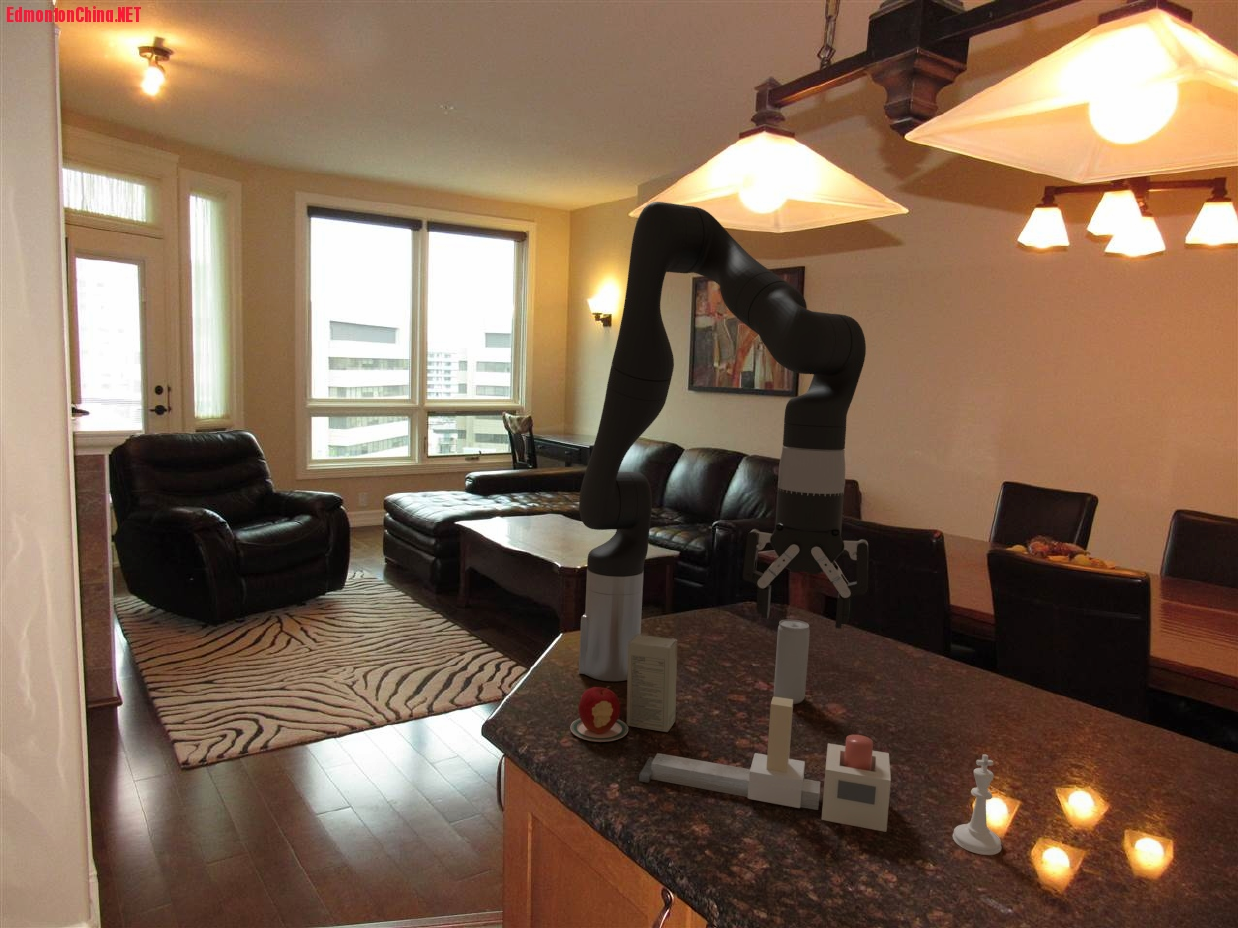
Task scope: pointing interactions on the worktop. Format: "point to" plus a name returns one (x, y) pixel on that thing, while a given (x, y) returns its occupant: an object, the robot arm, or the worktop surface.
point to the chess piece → (979, 816)
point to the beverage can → (791, 660)
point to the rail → (713, 777)
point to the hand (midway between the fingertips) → (801, 622)
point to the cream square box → (856, 791)
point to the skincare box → (651, 682)
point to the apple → (599, 716)
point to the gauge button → (858, 752)
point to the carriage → (777, 762)
